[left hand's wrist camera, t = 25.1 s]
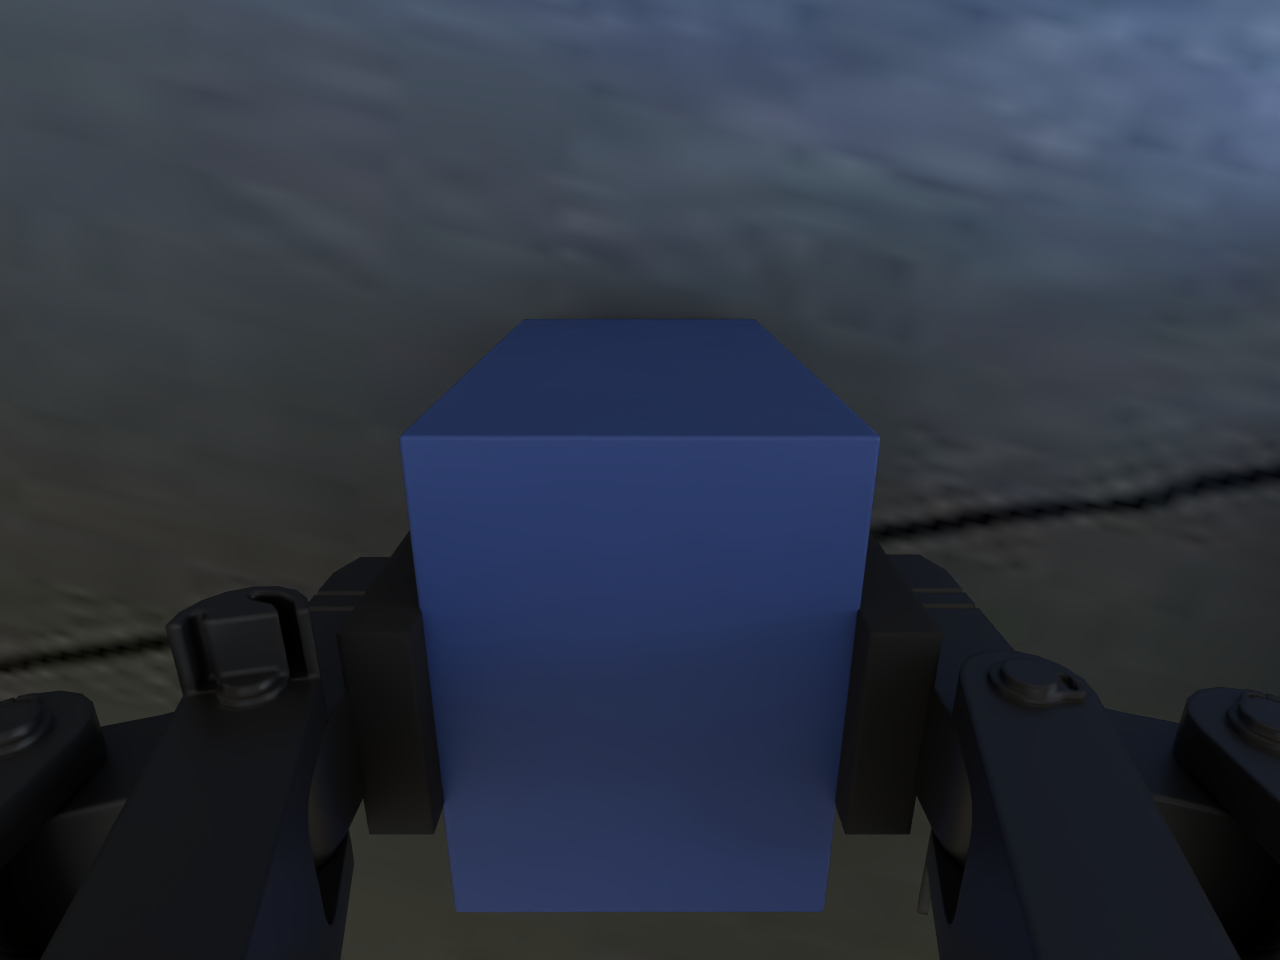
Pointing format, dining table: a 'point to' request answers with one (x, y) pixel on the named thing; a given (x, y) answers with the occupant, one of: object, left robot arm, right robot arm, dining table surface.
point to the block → (639, 615)
